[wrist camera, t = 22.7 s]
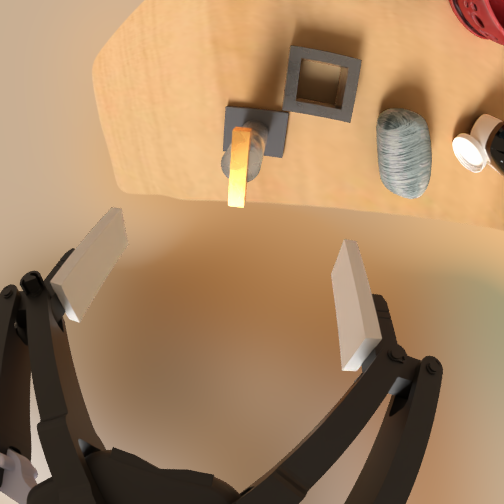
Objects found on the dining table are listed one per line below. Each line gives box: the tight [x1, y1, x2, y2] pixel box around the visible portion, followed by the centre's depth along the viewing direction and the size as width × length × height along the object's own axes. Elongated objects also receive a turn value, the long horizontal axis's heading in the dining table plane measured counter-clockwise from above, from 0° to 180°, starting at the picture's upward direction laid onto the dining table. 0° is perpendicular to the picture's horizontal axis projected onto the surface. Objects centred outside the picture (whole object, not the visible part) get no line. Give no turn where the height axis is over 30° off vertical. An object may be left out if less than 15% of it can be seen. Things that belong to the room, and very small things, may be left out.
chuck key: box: [221, 120, 268, 208], centre depth 32 cm, size 4×8×16 cm, turn 175°
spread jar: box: [452, 114, 504, 177], centre depth 29 cm, size 12×11×12 cm
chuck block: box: [282, 46, 362, 123], centre depth 31 cm, size 9×9×5 cm
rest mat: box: [223, 106, 289, 158], centre depth 39 cm, size 7×9×1 cm
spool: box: [376, 108, 432, 199], centre depth 34 cm, size 14×10×10 cm
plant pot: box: [449, 0, 504, 45], centre depth 14 cm, size 13×13×12 cm
